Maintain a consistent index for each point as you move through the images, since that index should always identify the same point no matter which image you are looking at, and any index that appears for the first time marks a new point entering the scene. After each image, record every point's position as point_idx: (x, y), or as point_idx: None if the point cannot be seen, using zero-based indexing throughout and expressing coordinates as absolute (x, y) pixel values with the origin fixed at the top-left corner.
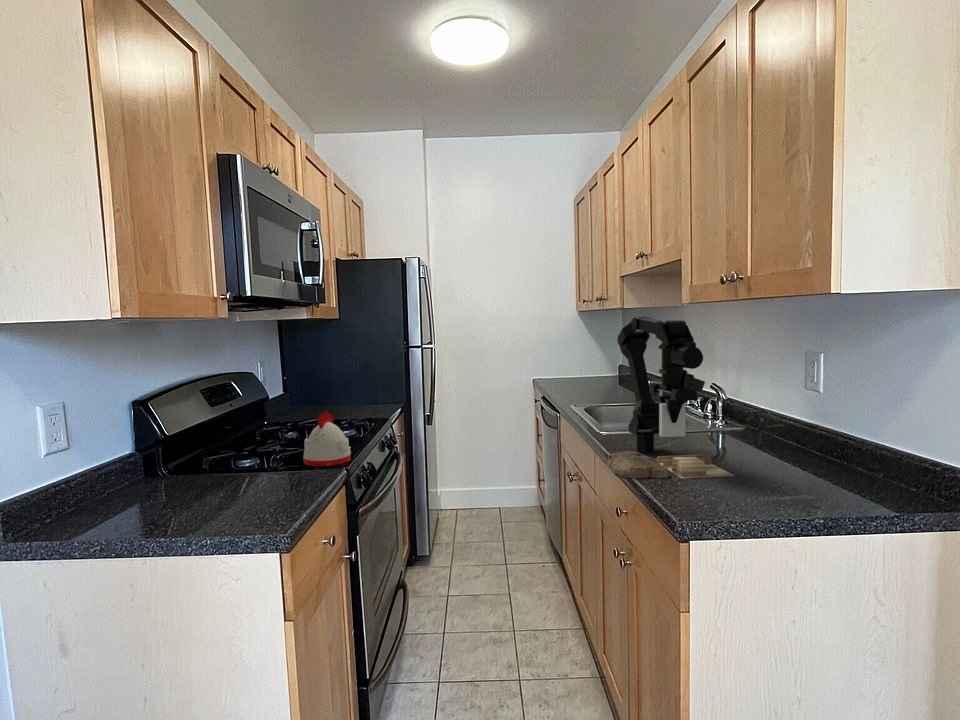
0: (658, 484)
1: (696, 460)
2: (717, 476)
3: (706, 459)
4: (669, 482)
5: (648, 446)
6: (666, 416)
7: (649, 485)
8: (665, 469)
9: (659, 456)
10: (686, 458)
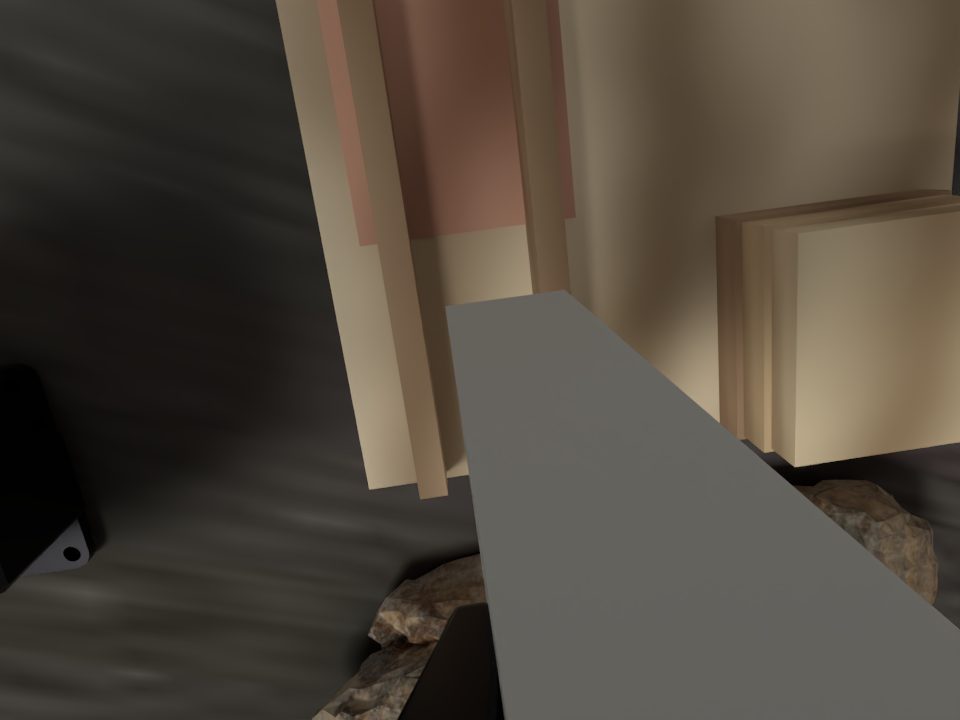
0: (949, 563)
1: (948, 270)
2: (956, 87)
3: (544, 10)
4: (922, 485)
5: (38, 517)
6: None
7: (956, 619)
8: (924, 543)
9: (424, 476)
10: (852, 347)
